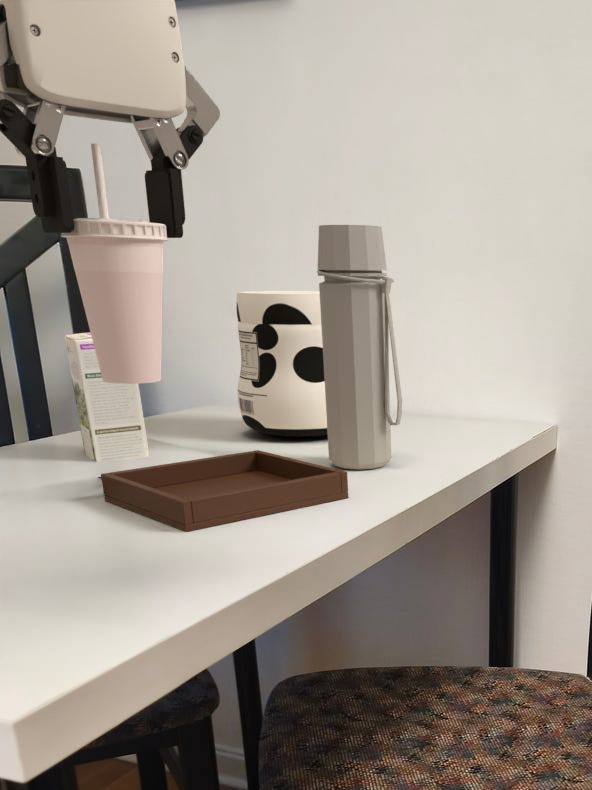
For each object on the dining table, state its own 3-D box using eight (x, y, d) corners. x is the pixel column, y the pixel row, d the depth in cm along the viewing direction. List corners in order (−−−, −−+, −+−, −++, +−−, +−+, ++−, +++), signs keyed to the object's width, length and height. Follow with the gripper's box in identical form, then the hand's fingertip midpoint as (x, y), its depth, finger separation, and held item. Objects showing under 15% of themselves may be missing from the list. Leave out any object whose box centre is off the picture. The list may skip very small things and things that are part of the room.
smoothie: (105, 373, 63) (76, 149, 58) (195, 376, 63) (174, 152, 57) (63, 384, 57) (26, 135, 52) (162, 387, 57) (135, 138, 52)
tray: (185, 531, 76) (182, 502, 75) (104, 500, 86) (100, 473, 85) (348, 497, 88) (347, 471, 87) (260, 473, 98) (258, 449, 97)
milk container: (386, 425, 128) (381, 291, 121) (342, 447, 113) (334, 294, 106) (275, 420, 132) (264, 290, 125) (217, 440, 116) (202, 293, 109)
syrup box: (153, 474, 97) (134, 334, 92) (97, 480, 94) (73, 336, 89) (139, 465, 102) (120, 331, 96) (84, 470, 98) (61, 332, 93)
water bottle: (314, 468, 101) (298, 224, 91) (352, 456, 107) (341, 228, 98) (384, 476, 97) (375, 223, 88) (419, 463, 104) (414, 227, 94)
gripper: (182, -62, 58) (207, 240, 65) (-125, -151, 46) (-54, 229, 53) (245, -89, 53) (265, 241, 60) (-80, -196, 41) (-9, 228, 48)
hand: (114, 232), depth 56 cm, fingers closed on smoothie, 6 cm apart
